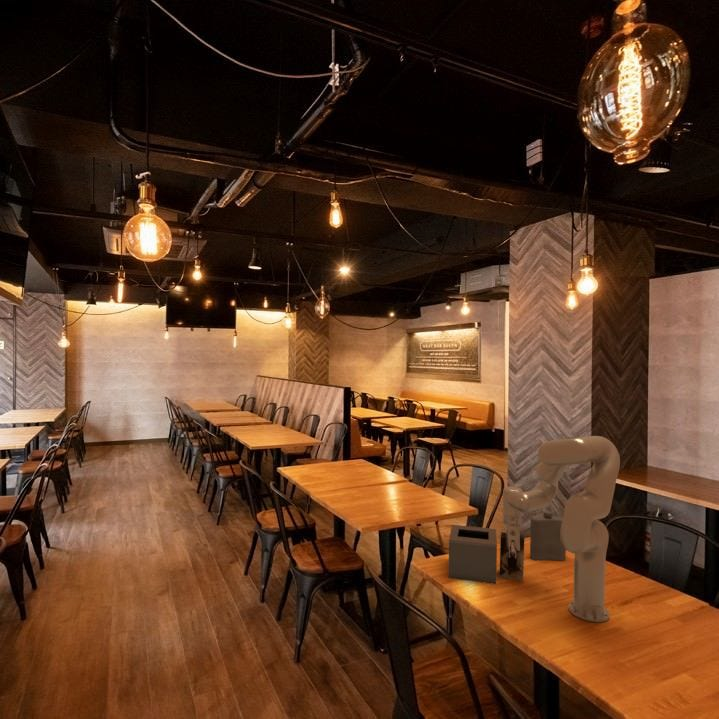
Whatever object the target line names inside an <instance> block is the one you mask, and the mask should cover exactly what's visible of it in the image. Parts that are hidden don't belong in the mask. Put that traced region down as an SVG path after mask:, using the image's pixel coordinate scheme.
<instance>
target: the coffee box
mask: <svg viewBox="0 0 719 719" xmlns="http://www.w3.org/2000/svg"><path fill="white" fill-rule="evenodd" d="M499 546H500V549H499V551H500V553H499V575H498V576H499V578H501V579H502V578H503V579H510V580H516V581H524V569H525V566H524V565H525V562H524V561H525V535H524V534H521V533H520V551H517V549H516V558H517V568H516V569H515V568H508V557H509V550H508V549H507V540H506V531H505V532H503V531H500V544H499ZM510 549H511V547H510ZM510 553H511V551H510Z"/></svg>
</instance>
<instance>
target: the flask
mask: <svg viewBox="0 0 719 719" xmlns="http://www.w3.org/2000/svg"><path fill="white" fill-rule="evenodd" d="M562 520H563V516H558V515H557V516H555V515H554V516H553V512H551V511H549V510H545V511H543V515H533V516H531V517H530V535H529V536H530V537H529V538H530V541H529V542H530V543H529V544H530V545H529V547H530V548H529V549H530V551H529V558H530V559H531V560H533V559H534V560H533V561H537V560H539V561H556V560H561V561H560V562H564V561H566V557H567V556H566V554H567V553H566V552H567V550H566V549H565V548H564V546H563V545H562V542H561V539H560V530H561V525H562Z"/></svg>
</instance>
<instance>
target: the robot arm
mask: <svg viewBox="0 0 719 719" xmlns="http://www.w3.org/2000/svg"><path fill="white" fill-rule="evenodd" d="M537 450H538V451H537V456H538V459H539V460H540V462H539V464H538V465H537V467H536V469H535V470H536V471H535V472H536V474H537V476H538V477H539V478H540V480H541V481H540V482H539V484H538V486H537V487H536V488H535V489H533V490H528V491H523V489H522V488H520V487H518V486H506V487H505V486H504V488H503V490H502V491H503V492H502V523H503V524H505V533H506V540H507V549H508V550H509V557H508V568H515V569H516V568H517V558H516V549H517V551H520V534H521V527H520V526H522V525H523V519H524V518H523V514H524V513H525V514H529V513H533V512H536V511H539V510H540V511H541V510H544V509H546V508H547V507H548V506H549V505H550V503H551V502H552V501H553V500H554V498H555V497H556V496H557V494H558V490H559V481H560V479H561V477H562V476H563V475H564V474H565V472H566V470H567V469H568V468H569V466H570V465H583V464H589V463H593V464H592V467H591V469H590V470H589V472H588V475H587V479H586V483H585V484H586V485H585V487H584V489H583V490H582V491H580V492H576V493H574V494H572V495H571V496H569V498H568V499H567V500H566V503H565V506H564V511H563V516H562V517H563V520H562V525H561V530H560V539H561V542H562V545H563V546H564V548H565V549H566V552H569V553H570V554H574V560H573V562H574V565H573V600H572V601H571V602H569V604H568V610H569V612H570V613H571V614H572V615H573V616H575V617H576V618H579V619H581V620H584V621H586V622H592V623H603V622H606V621H609V619H610V612H609V610H608V609H607V608H605V600H606V599H605V597H606V596H605V595H606V594H605V593H606V592H605V591H606V585H605V584H606V557H607V550H608V545H609V539H610V538H609V536H610V534H609V531H608V528H607V527H606V526H605V524H604V523H603V522H602V521H601V519H604V518H607V516H608V515H610V512H611V508H612V503H613V500H614V499H613V498H614V494H615V488H616V483H617V479H618V476H619V471H620V466H621V457H620V453H619V451H618V449H617V447H616V446H615V444H614V443H613V441H611V440H610V439H608V438H606V437H604V436H600V435H589V436H581V437H574V438H567V439H555V440H554V439H553V440H547V441H544V442H543V443H541V445H539V448H538V449H537ZM510 547H511V549H510ZM510 551H511V553H510Z"/></svg>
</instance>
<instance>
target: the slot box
mask: <svg viewBox="0 0 719 719" xmlns="http://www.w3.org/2000/svg"><path fill="white" fill-rule="evenodd" d="M497 538H498V537H497V529H496V528H491V527H490V528H488V527H481V526H480V527H479V526H470V525H461V524H460V525H459V524H452V525H451V529H450V533H449V539H448V579H453V580H454V579H455V580H460V581H469V582H477V583H483V582H485V583H484V584H491V583H493V585H497V567H498V565H497V562H498V560H497V558H498V540H497Z"/></svg>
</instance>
